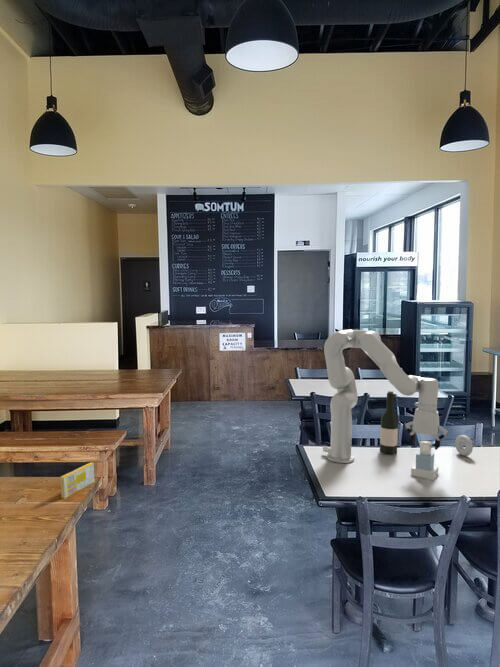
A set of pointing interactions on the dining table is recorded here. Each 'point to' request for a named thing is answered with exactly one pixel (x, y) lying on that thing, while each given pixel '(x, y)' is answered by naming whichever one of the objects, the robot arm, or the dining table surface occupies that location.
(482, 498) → the dining table surface
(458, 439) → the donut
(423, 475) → the plinth
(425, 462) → the slate cube
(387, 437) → the wine bottle
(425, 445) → the cream cap
